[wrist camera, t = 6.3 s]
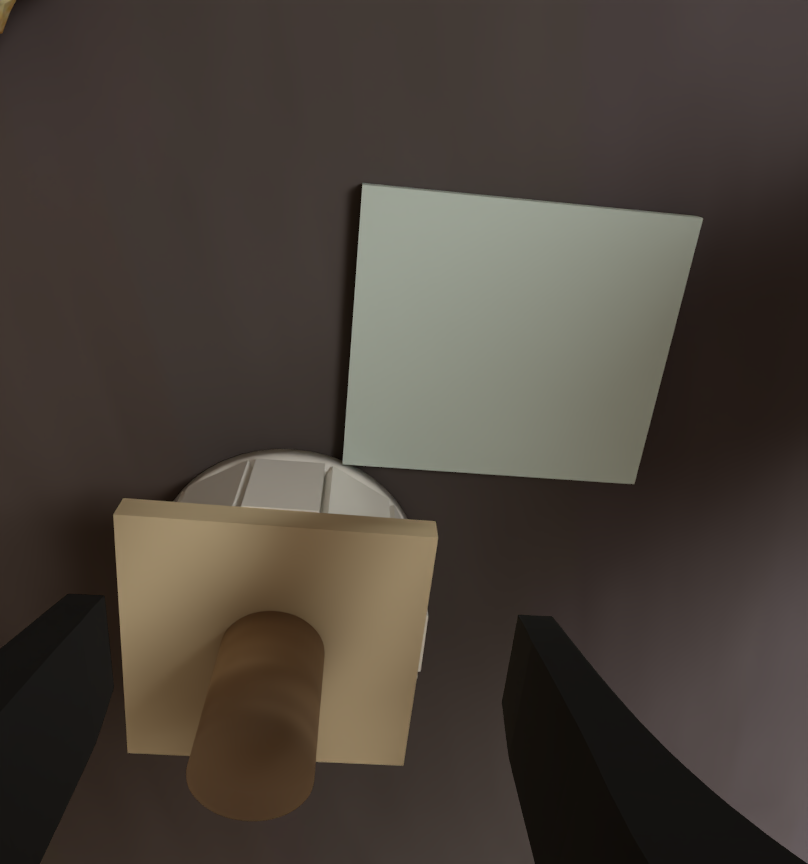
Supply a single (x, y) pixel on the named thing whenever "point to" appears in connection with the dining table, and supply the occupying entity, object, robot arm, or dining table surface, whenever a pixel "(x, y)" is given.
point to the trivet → (510, 333)
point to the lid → (268, 643)
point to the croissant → (5, 12)
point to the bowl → (293, 487)
